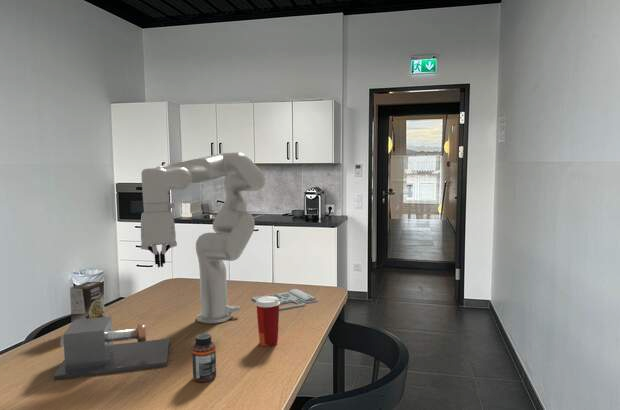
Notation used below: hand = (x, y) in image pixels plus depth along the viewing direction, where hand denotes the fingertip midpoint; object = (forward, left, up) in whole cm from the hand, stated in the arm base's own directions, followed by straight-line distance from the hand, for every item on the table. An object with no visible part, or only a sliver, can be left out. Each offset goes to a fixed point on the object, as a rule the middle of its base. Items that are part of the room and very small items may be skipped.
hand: (160, 266), depth 137 cm
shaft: (+15, +10, -20) cm, 27 cm away
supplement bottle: (-12, +29, -25) cm, 40 cm away
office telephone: (-47, -31, -25) cm, 62 cm away
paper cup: (-32, +11, -25) cm, 42 cm away
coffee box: (+25, -18, -25) cm, 40 cm away
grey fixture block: (+12, +10, -24) cm, 29 cm away
